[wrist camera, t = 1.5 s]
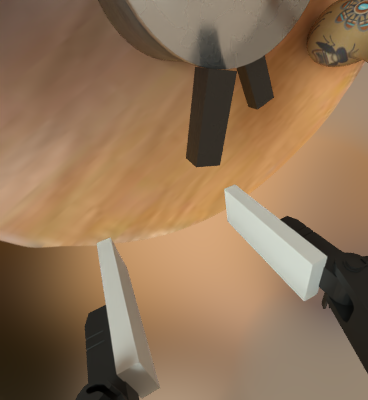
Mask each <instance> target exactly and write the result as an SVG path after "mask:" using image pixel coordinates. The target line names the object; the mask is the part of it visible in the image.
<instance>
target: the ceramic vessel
mask: <svg viewBox="0 0 368 400" xmlns="http://www.w3.org/2000/svg"><path fill="white" fill-rule="evenodd" d="M307 51H308V54H309V56H310V57H311V58H312V60H314V61H315V62H316V63H318V64H320V65H323V66H328V67H340V66H346V65H350V64H353V63H356V62H359V61H361V60H364V61H366V62H367V63H368V0H338V1H336V2H335V3H333V4H332V5H331V6H330V7H328V8H327V9H326V10H325V11H324V12H323V13H322V14H321V15H320V16H319V17H318V19H317V20H316V21H315V23H314V24H313V26H312V28H311V30H310V32H309V34H308V38H307Z"/></svg>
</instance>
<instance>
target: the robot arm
mask: <svg viewBox="0 0 368 400" xmlns="http://www.w3.org/2000/svg"><path fill="white" fill-rule="evenodd" d="M224 190H225V200H226V210H227V219H228V222H229V223H230V224H231V225H232V226H233V227H234V229H235V230H236V231H237V232H238V233H239V234H240V235H241V236H242V237H243V238H244V239H245V240H246V241H247V242H248V243H249V244H250V245H251V246H252V247H253V248H254V249H255V250H256V251H257V252H258V253H259V255H261V257H262V258H263V259H264V260H265V261H266V262H267V263H268V264H269V265H270V266H271V267H272V268H273V269H274V270H275V271H276V272H277V273H278V275H279V276H280V277H281V278H282V279H283V280H284V281H285V282H286V283H287V284H288V285H289V286H290V287H291V288H292V289H293V290H294V291H295V292H296V293H297V294H298V295H299V296H300V298H301V299H302V300H303V301H306V300H308V299H309V298H311V297H313V296H314V295H316V294H317V292H318V288H319V287H320V288H321V289H322V290H323V291H324V292H325V293H324V296H323V300H322V306H323V309H325V308H326V306H327V303H328V304H329V308H331V310H332V312H333V313H334V315H335V317H336V318H337V320H338V322H339V324H340V326H341V327H342V329H343V331H344V333H345V334H346V336H347V338H348V340H349V341H350V343H351V345H352V347H353V349H354V350H355V352H356V354H357V355H358V357H359V359H360V361H361V363H362V364H363V366H364V368H365V370H366V371H367V373H368V256H363V257H362V256H360V255H358V254H354V253H344V252H342V251H341V250H339V249H337V248H336V247H335V246H333V245H332V244H331V243H329V242H328V241H326V240H325V239H324V238H322V237H321V236H319V235H318V234H317V233H315V232H313V231H312V230H311V229H310V228H308V227H306V226H305V225H304V224H303V223H301V222H300V221H299V220H297V219H294V218H291V217H289V216H286V217H284V218H282V219H278V218H277V217H276V216H275V215H273V214H272V213H271V212H269V211H268V210H267V209H265V208H264V207H263V206H262V205H260V204H259V203H258V202H257V201H255V200H254V199H253V198H252V197H250V196H249V195H248V194H246V193H245V192H244V191H243V190H241V189H240V188H239V187H237V186H236V185H232V186H230V187H228V188H225V189H224ZM97 248H98V255H99V262H100V268H101V275H102V281H103V288H104V294H105V301H106V305H105V306H103V307H101V308H99V309H96V310H94V311H93V312H90V313H89V314H88V318H87V321H86V324H85V338H86V350H87V352H86V353H87V369H88V384H87V385H86V386H84V387H83V389H82V390H81V392H80V393H79V394H78V396H77V398H76V400H139V396H140V397H141V398H144V397H145V396H147V395H149V394H151V393H152V392H154V391H156V390H157V389H159V388H160V386H159V383H158V379H157V375H156V372H155V368H154V364H153V361H152V357H151V354H150V350H149V346H148V342H147V339H146V335H145V331H144V328H143V324H142V321H141V317H140V313H139V310H138V306H137V303H136V299H135V295H134V292H133V288H132V284H131V281H130V277H129V274H128V270H127V267H126V265H125V264H124V262H123V260H122V258H121V256H120V254H119V252H118V251H117V249H116V247H115V245H114V243H113V241H112V240H111V238H108V239H105V240H103V241H101V242H98V243H97Z"/></svg>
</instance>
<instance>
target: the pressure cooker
mask: <svg viewBox="0 0 368 400" xmlns="http://www.w3.org/2000/svg"><path fill="white" fill-rule="evenodd" d="M98 1H99V3H100V5H101V7H102V9H103V11H104V13H105V14H106V16H107V18H108V19H109V21H110V22H111V24H112V25H113V26H114V28H115V29H116V30H117V31H118V33H119V34H120V35H121V36H122V37H123V38H124V39H125V40H126V41H127V42H128V43H130V44H131V45H132V46H133V47H135V48H136V49H137V50H139V51H141V52H142V53H144V54H146V55H149V56H151V57H153V58H157V59H161V60H169V61H183V60H181V59H179V58H178V57H176V56H174V55H172V54H171V53H170V52H168V51H167V50H166V49H165V48H163V47H162V46H161V45H160V44H159V43H158V42H157V41H156V40H155V39H154V38H153V37H152V36H151V35H150V34H149V33H148V32H147V31H146V30H145V28H144V27H143V26H142V24H141V23H140V22H139V21H138V19H137V18H136V17H135V15H134V13H133V12H132V10H131V9H130V7H129V5H128V4H127V2H126V1H125V0H98ZM184 62H185V61H184ZM237 71H238V74H239V78H240V81H241V84H242V87H243V91H244V94H245V97H246V100H247V104H248V107H251V108H254V109H259V108H260V107H262V106H263V105H264V104H266V103H267V102H268V101H270V100H271V99H272V98H274V96H273V91H272V87H271V82H270V78H269V73H268V69H267V64H266V60H265V55H264V56H263V57H261V58H260V59H258V60H256V61H254V62H252V63H250V64H247V65H244V66H241V67H238V68H237Z"/></svg>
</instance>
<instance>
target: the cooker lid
mask: <svg viewBox="0 0 368 400" xmlns="http://www.w3.org/2000/svg"><path fill="white" fill-rule="evenodd" d="M125 1H126V2H127V4H128V5H129V7H130V9H131V10H132V12H133V13H134V15H135V17H136V18H137V19H138V21H139V22H140V23H141V24H142V26H143V27H144V28H145V30H146V31H147V32H148V33H149V34H150V35H151V36H152V37H153V38H154V39H155V40H156V41H157V42H158V43H159V44H160V45H161V46H162V47H163V48H165V49H166V50H167V51H168V52H170V53H171V54H172V55H174V56H176V57H178V58H179V59H181V60H183V61H185V62H187V63H190V64H192V65H195V66H199V67H195V74H194V84H193V94H192V104H191V114H190V123H189V133H188V143H187V153H186V159H188V160H189V161H190V162H191V163H192V164H193V165H194V166H196V167H204V166H218V165H220V162H221V156H222V151H223V145H224V140H225V134H226V129H227V123H228V118H229V112H230V107H231V101H232V96H233V90H234V85H235V79H236V74H237V71H228V70H219V69H231V68H238V67H241V66H244V65H247V64H250V63H252V62H254V61H256V60H258V59H260V58H261V57H263V56H264V55H265V54H267V53H268V52H270V51H271V50H272V49H273V48H274V47H275V46H277V45H278V44H279V43H280V42H281V41H282V40H283V39H284V37H285V36H286V35H287V34H288V33H289V32H290V31H291V29H292V28H293V26H294V25H295V24H296V22H297V21H298V20H299V18H300V16H301V15H302V13H303V11H304V10H305V8H306V6H307V5H308V3H309V1H310V0H125ZM200 67H204V68H200Z"/></svg>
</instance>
